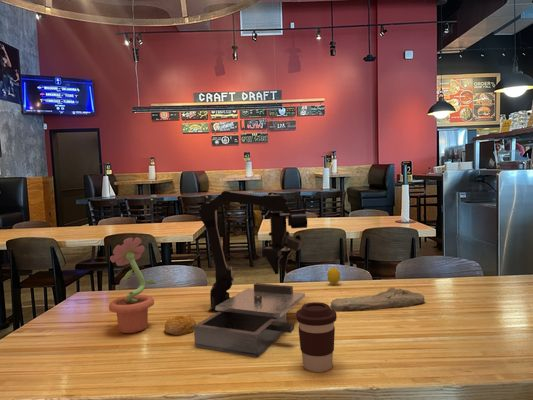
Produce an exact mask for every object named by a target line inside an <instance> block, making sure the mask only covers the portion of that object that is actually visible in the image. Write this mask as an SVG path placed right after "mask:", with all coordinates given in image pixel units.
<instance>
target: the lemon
mask: <svg viewBox="0 0 533 400" xmlns="http://www.w3.org/2000/svg"><path fill="white" fill-rule="evenodd" d="M326 278H327V280H328V281H327V282H329V283H330V284H332V285H333V286H335V285H336V284H338V283H339V282H340V280H341V273H340V269H338V268H337V267H335V266H332V267H331V268H329V269H328V270H327V275H326Z"/></svg>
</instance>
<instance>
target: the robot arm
mask: <svg viewBox="0 0 533 400" xmlns="http://www.w3.org/2000/svg"><path fill="white" fill-rule="evenodd" d="M226 203H237V204H244V205H253V206H260V207H263V208H266V209H269V210H268V211H267V213H266V214H265V215H264V216H265V218H269V220H270V232H269V233H268V236H270V238H271V240H270V241H271V242H270V243H269V246H266V247H262V250H261V251H260V252H261V254H260V255H261V257H265V259H266V260H267V262H268V263H269V266H270V267H271V269H272V271H273V272H274V274H275V275H278V274H279V272H280V267H281V269H282V270H283V271H286V268H287V265H288V260H289V256H290V254H292V252H294V251H295V252H298V251H299V250H301V248H302V245H303V244H304V239H303V236H302V235H300V234H296V235H295V236H292V235H290V231H289V230H287V228H288V227H290V228H291V229H304V228H305V229H307V228H308V218H307V217H308V216H307V213H306V212H307V211H306V209H305V208H301V209H293V210H291V208H290V207H288V205H287V201H286V198H285V197H284V196H283V195H281V194H262V195H260V194H254V193H253V194H252V193H244V192H237V191H231V190H223V191H222V192H221V193H220V194H219V195H218V196H216V197H215V198H213V200H210V201H208V202H207V201H206V202H205V203H203V204H201V205H200V206H199V208H198V215H199V216H200V219H201V222H202V224H203V225H204V227H205V230H206V232H207V233H206V234H207V237H208V241H209V244H210V250H211V253H212V258H213V262H214V267H215V268H214V269H215V273H214V274H215V276H214V277H215V282H214V283H213V284H212V286H211V289H210V291H209V292H210V293H209V297H210V308H209V309H208V312H210V313H217V312H218V310H215V306H217V305H219V304H221V303H222V302H224V301H226V300H228V299H229V298H231V297H230V292H228V291H229V290H230V289H231V288H232V286H233V283H234V279H235V274H234V272H233V266H232V265H231V266H229V265H228V264H227V262H226V257H225V252H224V250H223V246H222V240H221V237H220V233H219V228H218V210H219V209H220V208H221V207H223V205H225V204H226ZM271 210H272V211H275V212H272V211H271ZM280 212H282V213H284V214H280ZM287 226H288V227H287Z"/></svg>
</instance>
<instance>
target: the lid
mask: <svg viewBox="0 0 533 400" xmlns="http://www.w3.org/2000/svg"><path fill="white" fill-rule="evenodd" d="M305 297H306V293H304V292H295V291H294V287H293V285H283V284H270V283H261V282H260V283H259V282H256V283H254V284H253V288H252V287H251V288H250V287H248V288H246V289H244V290H242V291H241V292H238V293H237V294H235V295H233V296H232V297H230V298H229V299H228V300H226V301H224V302H222V303H221V304H219V305H217V306H215V310H218V311H226V312H234V313H243V314H251V315H259V316H267V317H276V318H281V317H282V316H283V315H284V314H285V313H286V314H287V312H289V311H290V310H292V309H293V308H294V307H295V306H296V305H297V304H299V302H301V301H302V300H303V299H304V298H305Z"/></svg>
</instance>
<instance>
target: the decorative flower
mask: <svg viewBox="0 0 533 400" xmlns="http://www.w3.org/2000/svg"><path fill="white" fill-rule="evenodd" d="M141 244H142V239H141V238H139V237H135V238H133V237H128V238H126V239H124V240H123V244H121V245H120V244H117V245H116V246H115V247H114V249H113V250H112V254H113V255H111V256H110V257H109V260H110V262H111V263H115V264H116V266H118V267H119V266H120V267H121V266H122V267H123V266H125V265H129V264H130V266H131V268H132V269H130V270H129V271H127V272H126V273H125V275H124V277H123V280H124V281H125V280H127V279H129V278H130V277H131V276H132V275H133V272H134V273H135V276H136V278H137V280H138V282H139V285H138V287H137V288H136V289H134V290H132V291H130V292H129V293H128V294H127V295H126V296H122V297H119V298H116V299H114V300H112V301H111V302H110V303H109V304H108V310H109V311H110V312H112V313H114V314H116V318H117V326H118V330H119V332H120V333H122V334H123V333H124V334H133V333H137V332H141V331H143V330H145V329H147V328H148V319H149V317H148V316H149V315H148V314H149V313H148V312H149V309H150V307H152V306H154V304H155V299H154V298H153V296H152V295H148V294H141V293H142V292H144V290H145V288H146V284H147V285H157V282H156V281H155V280H153V279H145V278H144V275H143V273H142V271H141V270H140V268H139V266H138V264H137V262H136V261H137V260H139V259H140V258H141V257H142V254H143V253H144V251H145V249H146V248H145V246H144V245H141Z"/></svg>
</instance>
